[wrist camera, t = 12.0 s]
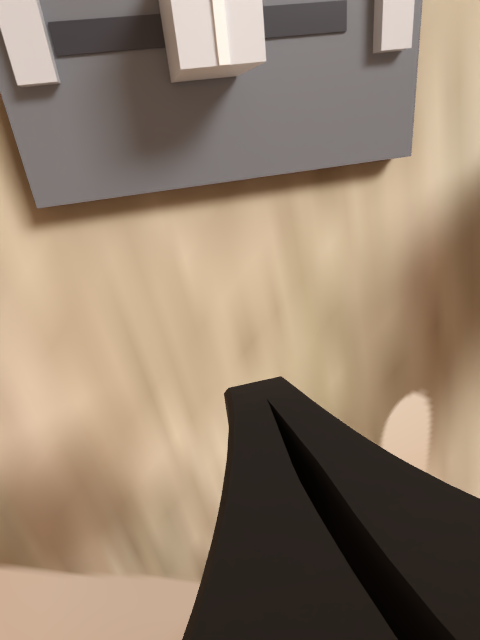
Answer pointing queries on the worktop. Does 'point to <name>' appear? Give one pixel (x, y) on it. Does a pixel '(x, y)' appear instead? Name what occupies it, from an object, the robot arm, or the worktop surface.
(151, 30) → the fader console
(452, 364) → the worktop surface
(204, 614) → the robot arm
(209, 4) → the cream slider knob
